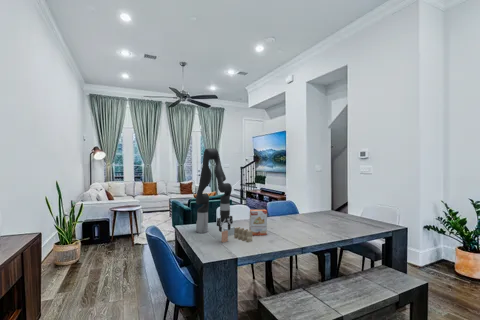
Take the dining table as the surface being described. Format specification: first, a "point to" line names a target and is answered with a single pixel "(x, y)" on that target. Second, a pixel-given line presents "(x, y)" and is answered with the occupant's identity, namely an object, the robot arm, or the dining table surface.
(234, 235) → the domino
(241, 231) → the domino
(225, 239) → the domino
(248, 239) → the domino
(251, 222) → the cracker box
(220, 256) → the dining table surface
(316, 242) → the dining table surface
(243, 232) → the domino
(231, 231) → the end block
